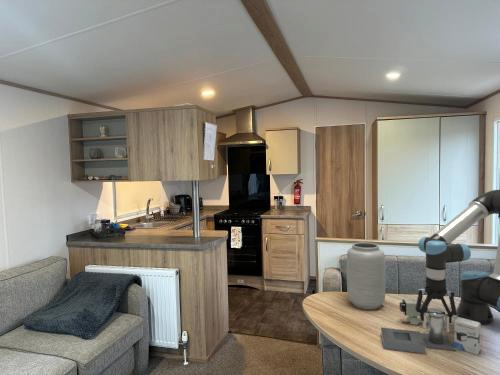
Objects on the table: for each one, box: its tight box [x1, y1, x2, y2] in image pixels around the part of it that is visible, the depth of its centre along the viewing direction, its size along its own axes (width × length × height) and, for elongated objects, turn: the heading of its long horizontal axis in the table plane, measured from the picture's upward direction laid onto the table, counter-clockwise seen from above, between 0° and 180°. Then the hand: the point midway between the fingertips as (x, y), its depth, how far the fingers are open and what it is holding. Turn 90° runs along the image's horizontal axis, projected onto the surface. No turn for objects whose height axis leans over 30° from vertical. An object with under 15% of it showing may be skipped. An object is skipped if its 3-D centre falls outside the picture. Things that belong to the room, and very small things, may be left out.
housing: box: [380, 327, 427, 355], centre depth 142 cm, size 16×12×4 cm
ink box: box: [453, 316, 482, 356], centre depth 137 cm, size 8×5×12 cm, turn 44°
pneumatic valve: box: [399, 298, 429, 326], centre depth 161 cm, size 6×12×12 cm, turn 78°
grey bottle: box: [426, 307, 446, 344], centre depth 143 cm, size 7×7×13 cm
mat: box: [420, 332, 456, 352], centre depth 143 cm, size 12×12×1 cm
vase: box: [346, 241, 386, 310], centre depth 184 cm, size 20×20×34 cm
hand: (435, 328), depth 143 cm, fingers open, 8 cm apart
